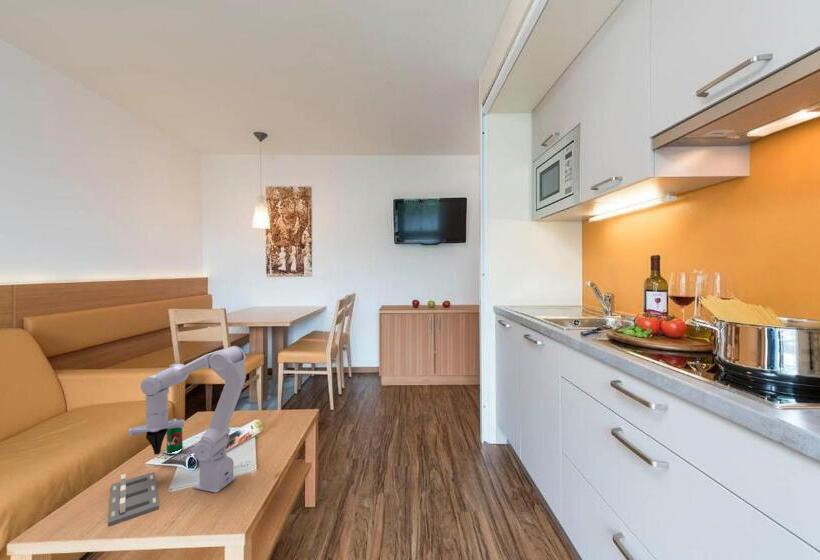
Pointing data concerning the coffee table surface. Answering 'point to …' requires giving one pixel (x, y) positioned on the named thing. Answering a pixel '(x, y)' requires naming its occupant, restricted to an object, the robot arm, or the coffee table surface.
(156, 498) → the breaker panel
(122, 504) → the handle
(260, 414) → the coffee table surface
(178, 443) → the soda can
